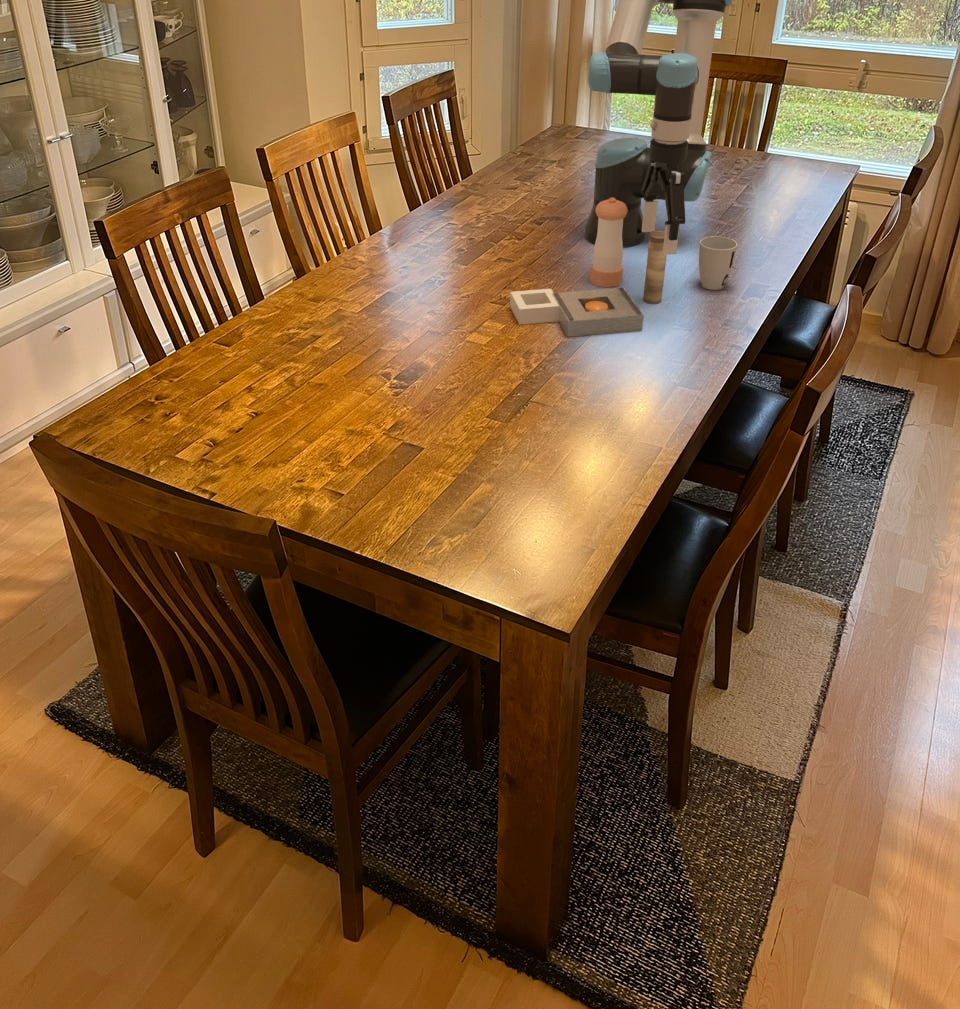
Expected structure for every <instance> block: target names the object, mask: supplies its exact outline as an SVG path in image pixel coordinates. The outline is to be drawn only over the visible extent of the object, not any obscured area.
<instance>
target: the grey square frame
mask: <svg viewBox="0 0 960 1009" xmlns="http://www.w3.org/2000/svg"><path fill="white" fill-rule="evenodd" d="M553 293H554V295H555V296H553V297H556V298H557V301H558V305H559V303H560V305H559V321H558V323H559V325H560V326H561V328H562V330H563V332H564V334H565V335H566V337H567V338H572V337H573V338H574V337H583V336H585V337H586V336H593V335H595V336H596V335H604V334H605V335H606V334H618V333H628V332H639V331H643V326H644V325H643V324H644V316H645V315H644V313H643V312H642V311H641V309H640V308H639V307H638V305H637V304H636V303H635V301H634V300H633V298H632V297H631V296H630V295H629V294H628V292H627V291H626V290H625V288H624V287H616V288H615V287H611V288H602V289H600V288H599V289H591V290H589V289H588V290H578V291H565V292H564V291H563V292H553ZM553 293H552V294H553ZM590 301H601V302H604V303H606V304H607V305H608V310H601V311H589V312H586V311H585V304H586V303H588V302H590Z"/></svg>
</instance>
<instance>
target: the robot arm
mask: <svg viewBox="0 0 960 1009" xmlns="http://www.w3.org/2000/svg"><path fill="white" fill-rule="evenodd" d="M657 4H671V5H672V14H673V16H674V17H675V18H676V20H677V26H676V34H675V42H674V48H673V49H674V51H673V53H667V54H664V55H658V54H656V55H655V54H642V52H643V47H644V43H645V41H646V40H645V39H646V37H647V32H648V28H649V25H650V20H651V17H652V12H653V9H654V8H655V7H656V6H657ZM732 4H733V0H618V3H617V6H616V9H615V13H614V16H613V21H612V24H611V27H610V29H609V30H610V31H609V34H608V38H607V42H606V45H605V47H604V48H605V49H604V50H603V51H601V52H600V51H599V52H594V53H592V55H591V57H590V59H589V65H588V72H587V73H588V74H587V75H588V78H587V82H588V87H589V89H590V91H592V92H598V93H599V92H600V93H605V94H624V95H627V94H629V95H641V96H654V107H653V114H652V116H653V117H652V122H651V123H650V125H649V127H650V128H651V133H650V134H651V135H650V136H651V137H652V138H651V140H650V144H649V147H648V144H647V141H646V140H645V139H643V138H638V137H621V138H617V139H612V140H609V141H606V142H604V143H602V144H600V146H599V147H598V149H597V151H596V153H597V154H596V159H595V164H594V167H595V173H594V174H595V176H594V178H595V179H594V187H593V188H594V190H593V204H592V207H591V209H590V212H589V214H588V216H587V220H586V222H585V224H584V225H585V226H584V231H583V232H584V234H583V236H584V237H585V238H584V239H586V240H587V241H588V242H590V243H592V244H594V245H595V242H596V238H597V230H598V218H599V217H598V216H597V214H596V211H595V209H596V207H597V205H598V204H599V202H601V201H604V200H608V199H609V198H615V199H616V200H619V201H621V202H623V203H625V205H626V207H627V210H628V212H627V214H626V216H625V217H624V218H623V229H622V243H623V248H626V247H627V248H628V247H633V246H636V245H639V244H641V243H643V242H644V240H645V238H646V233H647V232H648V233H651V232H652V231H656V222H657V212H658V204H659V203H658V200H661V201H665V207H666V208H665V209H666V217H667V220H666V221H665V222H664V225H665V229H664V232H665V236H664V245H663V255H667V256H668V255H677V251H678V250H677V249H678V241H679V234H680V225H684V224H685V223H686V209H685V208H686V206H685V202H690V203H691V202H692V203H693V202H695V201H697V200H698V199H699V198H700V197H701V194H702V192H703V188H704V183H705V180H706V176H707V173H708V169H709V164H710V161H711V157H712V153H711V152H710V151H709V150H706V149H707V142H706V140H705V139H704V138H703V136H702V131H703V122H704V115H705V108H706V100H707V92H708V86H709V79H710V70H711V63H712V55H713V48H714V41H715V35H716V25H717V23H718V21H719V20H721V19H722V18H723V17H724V16H725V10H726V7H727V8H729V7H731V6H732ZM642 199H643V200H644V202H643V204H644V205H643V211H642V208H641V206H642Z"/></svg>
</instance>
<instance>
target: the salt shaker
mask: <svg viewBox="0 0 960 1009" xmlns="http://www.w3.org/2000/svg"><path fill="white" fill-rule="evenodd" d="M595 211H596V214H597V216H598V217H599V218H598V230H597V238H596V242H595V244H594V245H593V247H594V248H593V251H592V253H593V255H592V264H591V266H590V274H589V275H590V277H589V278H590V279H589V281H590V283H591V284H592V285H594V286H596V287H601V288H615V287H618V286H620V285H621V284H622V282H623V275H624V267H623V265H622V264H623V256H624V247H623V243H622V229H623V218H624V217H625V216H626V214H627V212H628V210H627V207H626V205H625V203H623V202H621V201H619V200H616V199H615V198H609V199H608V200H604V201H601V202H599V204H598V205H597V207H596V209H595Z"/></svg>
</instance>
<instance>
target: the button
mask: <svg viewBox="0 0 960 1009" xmlns="http://www.w3.org/2000/svg"><path fill="white" fill-rule="evenodd" d="M601 310H608V305H607V304H606V303H604V302H601V301H590V302H588V303H586V304H585V311H586V312H589V311H601Z"/></svg>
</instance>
